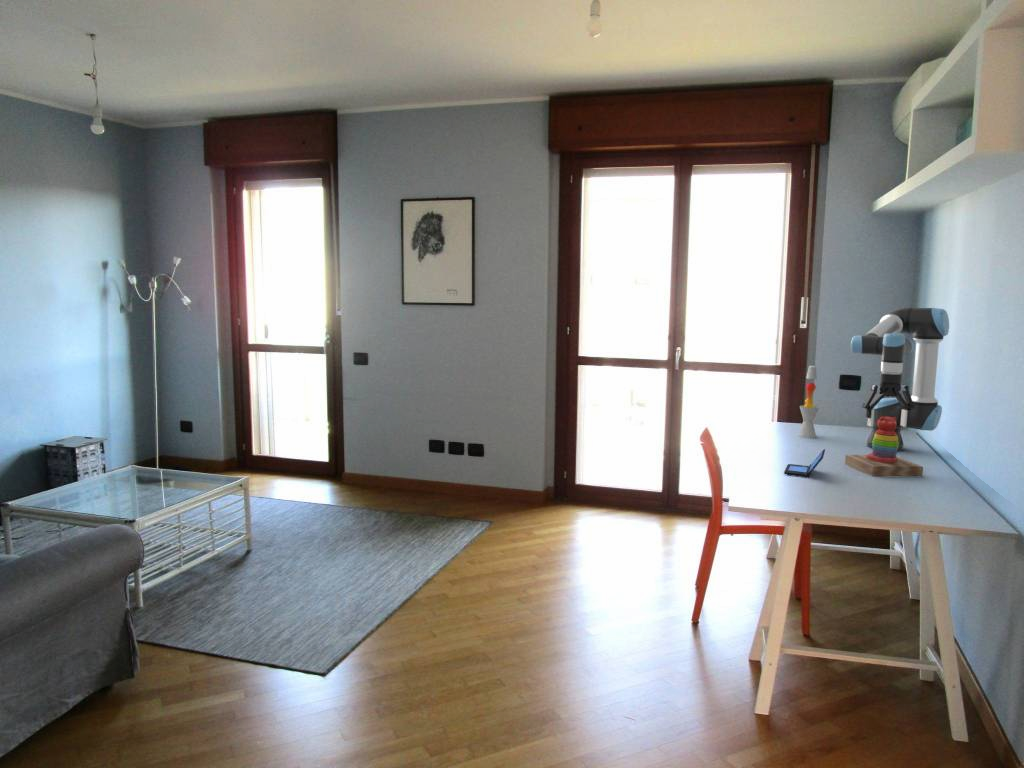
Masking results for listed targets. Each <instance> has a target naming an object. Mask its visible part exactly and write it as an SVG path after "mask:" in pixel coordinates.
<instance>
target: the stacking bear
mask: <svg viewBox="0 0 1024 768" xmlns="http://www.w3.org/2000/svg"><path fill="white" fill-rule="evenodd" d="M896 420H897V419H896V418H895V417H892V418H891V417H880V419H879V420H878V422H877V426H878V428H879V430H877V431H876V433H875V435H874V438H873V441H872V453H871V452H870V453H867V454H866V455H867V456H866V458H868V459H870V460H873V461H877V462H882V463H896V462H897V457H898V456H897V453H898V448H899V447H898V446H899V442H898V436H897V434H896V432H894V430H895V429H896V426H897V423H896Z"/></svg>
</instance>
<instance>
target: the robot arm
mask: <svg viewBox="0 0 1024 768" xmlns="http://www.w3.org/2000/svg"><path fill="white" fill-rule="evenodd" d="M949 329H950V319H949V315H948V311H946V310H945V309H944V308H937V307H902V308H898V309H895V310H893V311H890V312H888V313H886V314H885V315H883V316H882V317H881V319H880V320H879V323H878V324H876V325H875V326H874V327H872V328H871V329H870V330H869V331H868V332H866V333H865V334H864V335H854V336H853V337H852V338H851V341H850V349H851V352H852V353H853V354H859V355H873V356H874V355H875V356H881V362H880V372H881V373H880V376H879V384H878V385H877V384H871V388H870V391H869V393H868V394H867V396H866V398H865V400H864V401H863V402H862V404H861V408H863V409H866V410H865V411H866V413H865V418H867V423H866V426H867V427H872V428H871V432H870V434H869V436H868V438H867V440H866V447H868V446H869V447H868V448H870V447H872V441H873V438H874V435H875V433H876V431H877V430H879V428H878V426H877V422H878V420H879V419H880V417H891V418H892V417H895V418H896V419H897V420H896V423H897V426H896V429H895V430H894V432H896V434H897V436H898V442H899V446H898V447H899V448H898V450H900V451H903V450H904V447H905V446H904V441H903V436H902V431H901V429H902V428H904V429H905V428H907V429H912V430H913V429H914V430H921V431H930V432H931V431H932V432H933V431H934V430H935V429H936V428H937V427H938V425H939V423H940V420H941V417H942V413H943V410H942V409H943V408H942V406H941V405H940V404H939V400H938V399H937V398H936V397H935V394H936V393H935V392H936V381H937V369H938V356H939V345H940V343H941V342H942V341H944V337H945V336H948V334H949V331H950V330H949ZM905 334H906V335H907V334H909V335H912V339H913V340H914V341H915V347H914V342H913V341H912V340H911V339H910V338H908V337H906V336H905ZM914 348H915V353H914V354H915V356H914V367H913V368H914V369H913V381H912V382H913V383H912V391H911V393H912V394H910V391H909V385H906V384H902V377H903V375H902V374H901V373H903V367H904V366H903V365H904V357H906V356H908V355H910V354H911V353H912V352H913V351H914ZM901 384H902V385H901ZM878 391H879V392H878ZM900 391H902V394H903V396H902V394H901V393H900ZM877 392H878V393H877ZM903 397H904V398H903Z"/></svg>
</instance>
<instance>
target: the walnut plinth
mask: <svg viewBox="0 0 1024 768" xmlns="http://www.w3.org/2000/svg"><path fill="white" fill-rule="evenodd" d="M866 456H867V454H845V459H844V460H845V461H844V464H845V465H846V466H848V467H850V466H851V467H850V468H853V469H855V470H857V469H858V470H857V471H859V470H860V471H859V472H861V471H863V472H865V473H864V474H866V473H867V474H866V475H868V474H869V475H868V476H870V475H871V476H870V477H884V476H922V477H923V472H924V466H923V465H920V464H917V463H914V462H912V461H909V460H907V459H904V458H901V457H898V456H896V457H897V462H896V463H882V462H877V461H873V460H870V459H868V458H866ZM863 472H862V473H863Z"/></svg>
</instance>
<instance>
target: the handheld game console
mask: <svg viewBox="0 0 1024 768" xmlns="http://www.w3.org/2000/svg"><path fill="white" fill-rule="evenodd" d="M825 452H826V449H825V448H823V449H822V450H821V452H820V453H819V454H818V456H817V457H816V458H815V460H813V462H812V463H810V464H809V465H802V464H795V463H788V464H787V465H786V467H785V469H784V471H783V474H784V475H785V474H787V475H786V476H791V475H795V476H794V477H799V476H801V477H800V478H807V477H808V479H809V478H811V474H812V472H813V471H814V470H815V469H816V468H817V466H818V465H819V464H820V462H822V460H823V459H824V456H825Z"/></svg>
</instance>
